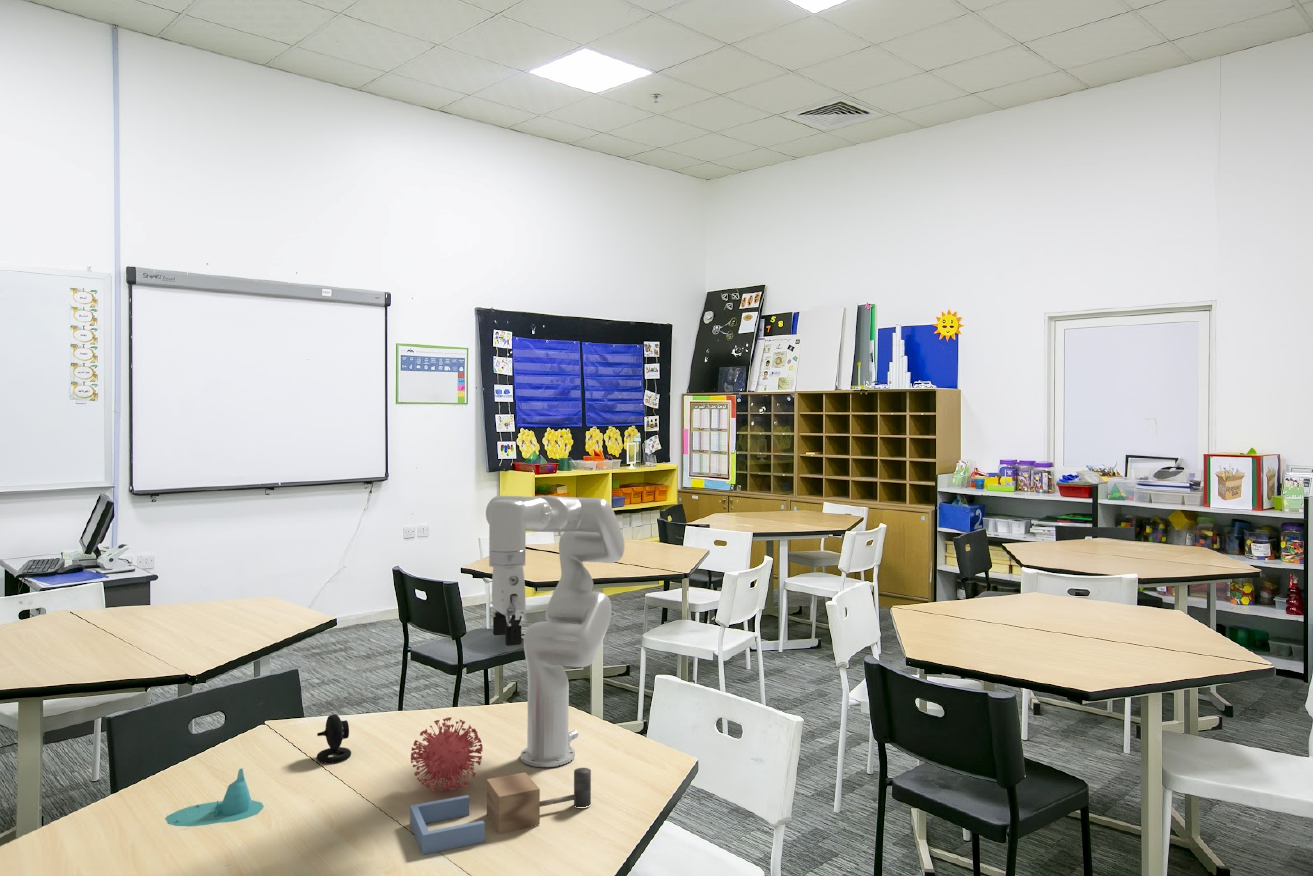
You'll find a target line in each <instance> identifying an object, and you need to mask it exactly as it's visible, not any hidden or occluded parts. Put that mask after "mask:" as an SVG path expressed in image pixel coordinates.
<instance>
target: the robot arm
mask: <svg viewBox="0 0 1313 876" xmlns="http://www.w3.org/2000/svg"><path fill="white" fill-rule="evenodd" d="M485 518H486V521H487V523H488V526H489V536H488V537H489V539H488V540H489V543H488V544H489V546H488V547H489V548H488V552H489V553H488V554H489V555H488V566H489V567H491V568H492V576H491V577H492V579H491V605H492V607H493V611H492V615H493V617H492V634H493V636H503V635H505V645H506V646H507V647H510V646H511V647H512V646H519V645H521V644H522V626H523V625H522V624H523V622H522V618H523V616H522V614H523V615H524V614H525V613H526V610H527V606H526V583H525V573H524V572H525V571H524V567H525V566H526V532H539V533H541V532H542V533H560V532H561V533H562V534H561V536H560V538H559V541H558V554H559V555H558V557H559V563H560V579H559V581H558V583H557V585H556V587H555V589H554V591H553V592H552V595H551V597H550V599H549V600H548V603H547V606H546V608H545V620H546V621H538V622H537V621H536V622H535V623H533V624H531V625H530V626H528V628H526V630H525V632H524V636H523V651H524V656H525V662H526V670H527V671H526V672H527V673H526V674H527V731H526V733H527V737H526V738H527V739H526V741H527V744H526V745H527V747H525V748H524V749H523V750H521V753H520V760H521V762H522V763H524V764H525V765H528V766H531V767H537V768H555V767H559V765H560V766H563V764H564V765H566V763H567V764H568V762H569V763H571V762H572V761H573V760H574V759H575V757H574V756H576V751H575V749H574V748H573V746H571V743H572V741H574V740H575V739H577V738H578V737H579V732H578V730H576V729H574V730H573V729H572V730H571V731H569V710H570V709H569V708H570V707H569V706H570V705H569V703H570V701H569V699H570V697H569V689H570V688H569V687H570V684H569V678H568V675H567V673H566V671H565V669H564V666H565V667H578V668H584V667H589V666H591V665H592V664H593V662H594V661H595V660H596V658H597V655H598V653H599V651H600V649H601V646H602V643H603V640H604V638H605V636H606V634H607V631H608V629H609V626H610V624H611V619H612V611H613V610H612V609H613V606H612V601H611V599H610V598H609V596H608V595H607V594H605V593H604V592H601V591H593V588H594V581H593V578H592V576H591V574H590V571H589V570H588V569H587V568H586V567H585V565H584V563H585V562H587V563H602V564H613V563H617V562H619V561H620V560H621V558H623V556H624V553H625V540H624V536H623V532H622V531H621V527H620V524H619V522H618V519H617V516H616V513H615V511H614V510H613V508H612V506H611V504H610V503H609V501H607V500H606V499H605V498H599V497H598V498H597V497H572V496H557V495H538V496H537V495H534V496H521V495H497V496H495V497H492V498H491V499H490V500H489V502H488V504H487V506H486V509H485ZM583 562H584V563H583ZM573 758H574V759H573ZM571 760H572V761H571Z"/></svg>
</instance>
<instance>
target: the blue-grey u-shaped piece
mask: <svg viewBox="0 0 1313 876" xmlns="http://www.w3.org/2000/svg"><path fill="white" fill-rule="evenodd" d="M409 809H410V810H409V811H410V812H409V813H410V814H409V815H410V816H409V817H410V819H409V821H410V822H409V823H410V827H411V829H412V832H413V834H414V836H415V839H416V842H417V844H418V846H419V849H420V851H421V854H422V855H423V856H424V855H428V854H433V853H438V852H443V851H449V850H453V849H457V848H461V847H467V846H473V845H476V844H482V843H485V842H486V841H485V839H486V838H485V837H486V836H485V835H486V833H485V832H486V831H485V829H486V828H485V827H486V823H485V821H484V820H478V821H474V822H469V823H463V824H459V825H458V824H456V825H453V826H448V827H443V828H438V829H433V830H429V828H428V827H427V825H426V824H429V823H435V822H440V821H445V820H450V819H456V818H461V817H465V816H466V817H467V816H470V796H469V794H466V795H461V796H456V797H451V798H445V799H444V798H443V799H438V800H432V801H428V802H422V803H421V802H420V803H418V804H417V803H416V804H411V805H410V807H409Z"/></svg>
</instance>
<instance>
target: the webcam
mask: <svg viewBox="0 0 1313 876" xmlns="http://www.w3.org/2000/svg"><path fill="white" fill-rule="evenodd" d="M349 735H350V725H349V722H348V720H347V719H346V720H342V719H341V718H340V716H339V715H338V714H331V715H329V716H328V717H327V719H326V722H325V730H323V731H321V732H317V735H316V736H317V737H323V736H324V737H325V739H326V743H327V745H328V748H325V749H323V750H321V751H319V752H318V753H317V755H316V760H317V761H318V762H320V763H322V764H337V763H341V762H344V761H346V760H348V759H349V758H350V757H351V755H352V751H351V750H350V748H348V747H344V746H343V747H342V746H341V745H342V741H343V740H345V739H348V738H349ZM334 754H340V755H335V756H331V755H334Z"/></svg>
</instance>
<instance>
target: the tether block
mask: <svg viewBox="0 0 1313 876" xmlns="http://www.w3.org/2000/svg"><path fill="white" fill-rule="evenodd" d="M591 776H592V770H591V769H590V768H588V767H578V768H576V769H574V770H573V794H571V795H570V794H569V795H566V796H560V797H555V798H554V797H553V798H549V799H545V800H541V799H540V798H541V795H540V793H541V792H540V791H541V789H540V788H539V787H538V785H537V784H536V783H535V782H534V780H533V779H532V778H531V777H530V776H529V774H528V773H527V772H526V771H525V772H519V773H514V774H508V775H502V776H497V777H493V778H487V779H486V816H487V818H489V820H490V822H491V824H492V825H493V826H494V828H495V829H496V831H497V833H498V835H499V834H504V833H505V834H506V833H508V832H514V831H518V829H519V830H524V829H527V828H528V827H529V828H532V827H531V826H533V827H536V826H535V825H538V824H540V823H541V822H540V819H541V817H540V814H541V813H540V812H541V811H540V810H541V808H542V807H545V806H550V805H556V804H562V803H565V802H570V801H573V807H574V806H576V807H586V806H589V805H590V804H591V805H592V801H591V800H592V797H591V795H592V792H591V791H592V777H591ZM540 807H541V808H540ZM538 826H539V825H538Z"/></svg>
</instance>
